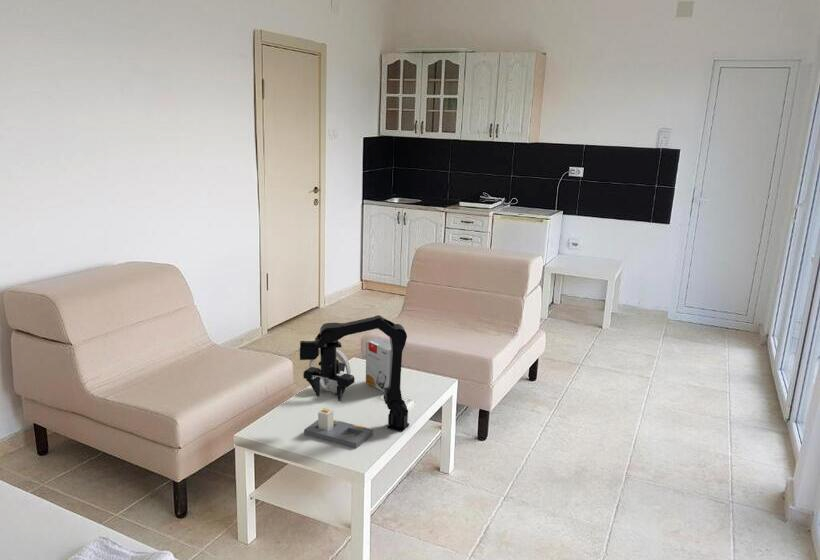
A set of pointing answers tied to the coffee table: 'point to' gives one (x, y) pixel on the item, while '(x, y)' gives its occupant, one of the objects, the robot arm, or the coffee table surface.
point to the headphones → (331, 384)
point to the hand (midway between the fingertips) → (329, 398)
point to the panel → (340, 433)
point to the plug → (325, 419)
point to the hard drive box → (378, 363)
